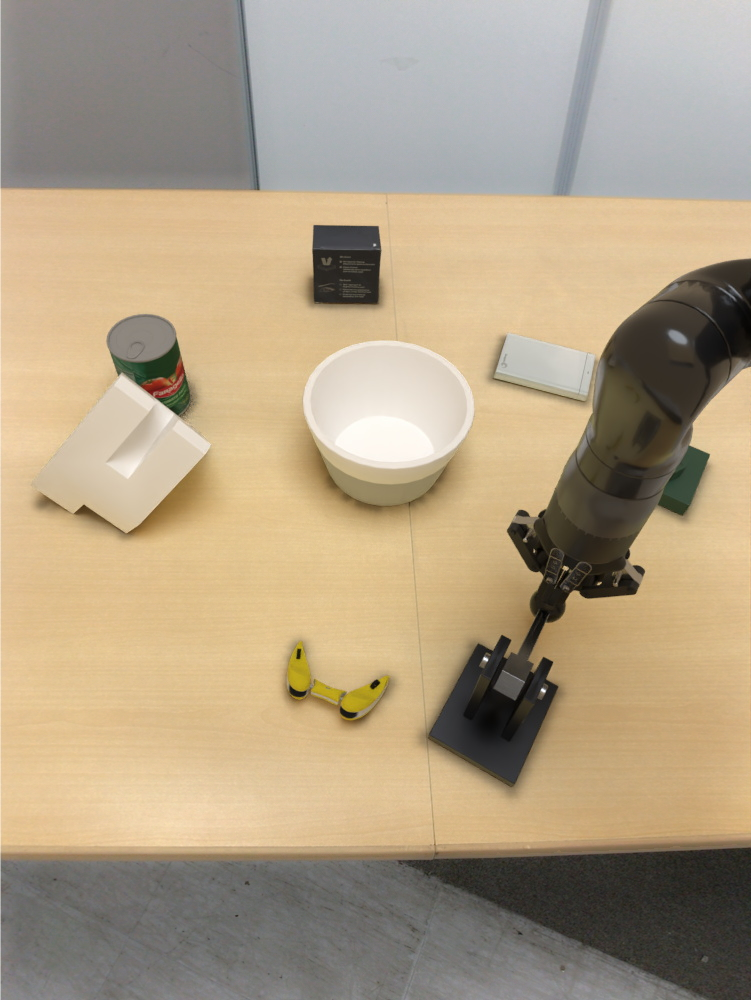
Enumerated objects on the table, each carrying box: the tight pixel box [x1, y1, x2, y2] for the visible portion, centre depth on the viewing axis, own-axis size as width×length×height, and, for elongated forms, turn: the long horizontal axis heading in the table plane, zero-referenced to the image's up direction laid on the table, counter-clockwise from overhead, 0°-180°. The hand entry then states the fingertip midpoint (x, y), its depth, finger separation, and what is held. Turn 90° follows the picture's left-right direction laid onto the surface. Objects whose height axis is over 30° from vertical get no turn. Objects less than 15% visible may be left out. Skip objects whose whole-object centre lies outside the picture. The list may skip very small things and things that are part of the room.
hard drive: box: [493, 331, 597, 402], centre depth 100 cm, size 2×8×12 cm
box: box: [311, 224, 382, 305], centre depth 104 cm, size 9×6×10 cm, turn 92°
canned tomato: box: [105, 313, 192, 418], centre depth 90 cm, size 8×8×11 cm
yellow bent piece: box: [285, 640, 390, 721], centre depth 73 cm, size 10×6×4 cm, turn 68°
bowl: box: [301, 339, 476, 507], centre depth 87 cm, size 19×19×11 cm
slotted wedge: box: [29, 373, 212, 534], centre depth 81 cm, size 14×11×18 cm
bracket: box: [427, 634, 559, 788], centre depth 69 cm, size 11×9×12 cm
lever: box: [493, 589, 567, 701], centre depth 70 cm, size 15×4×4 cm, turn 150°
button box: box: [657, 445, 711, 516], centre depth 90 cm, size 11×9×4 cm
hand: (551, 596), depth 73 cm, fingers closed
